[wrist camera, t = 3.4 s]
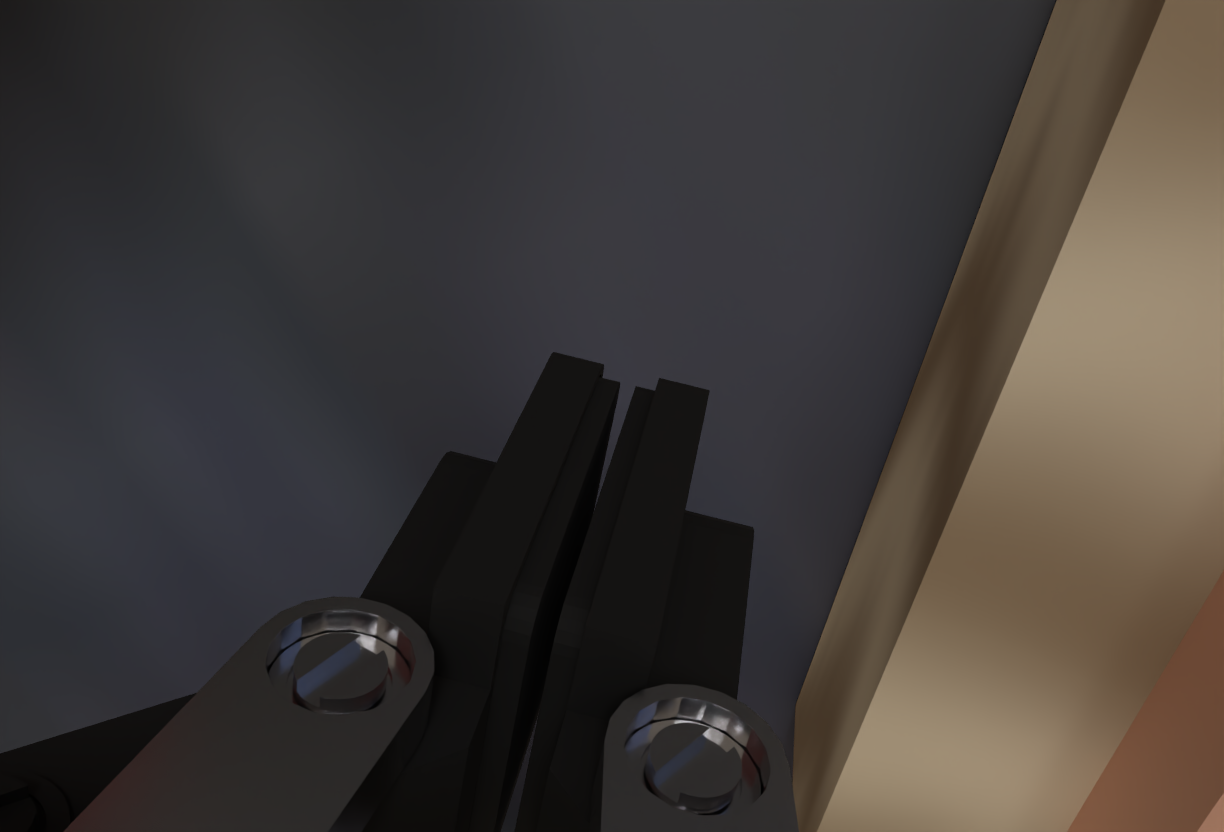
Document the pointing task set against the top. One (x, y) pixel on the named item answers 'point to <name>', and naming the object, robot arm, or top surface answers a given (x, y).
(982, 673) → the deck
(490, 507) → the robot arm
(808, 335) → the top surface
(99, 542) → the top surface
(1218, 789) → the salmon brown flat block
